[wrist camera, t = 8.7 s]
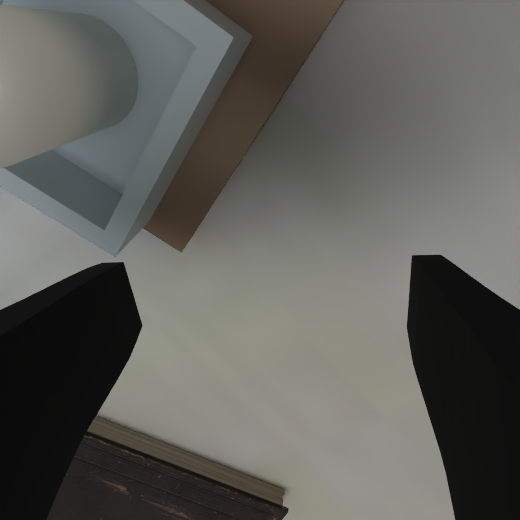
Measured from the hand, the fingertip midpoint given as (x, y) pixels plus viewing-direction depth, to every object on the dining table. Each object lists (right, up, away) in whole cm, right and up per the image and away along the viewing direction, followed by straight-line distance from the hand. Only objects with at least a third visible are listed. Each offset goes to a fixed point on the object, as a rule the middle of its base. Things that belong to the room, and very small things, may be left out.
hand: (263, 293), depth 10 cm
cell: (-7, +8, +5) cm, 12 cm away
